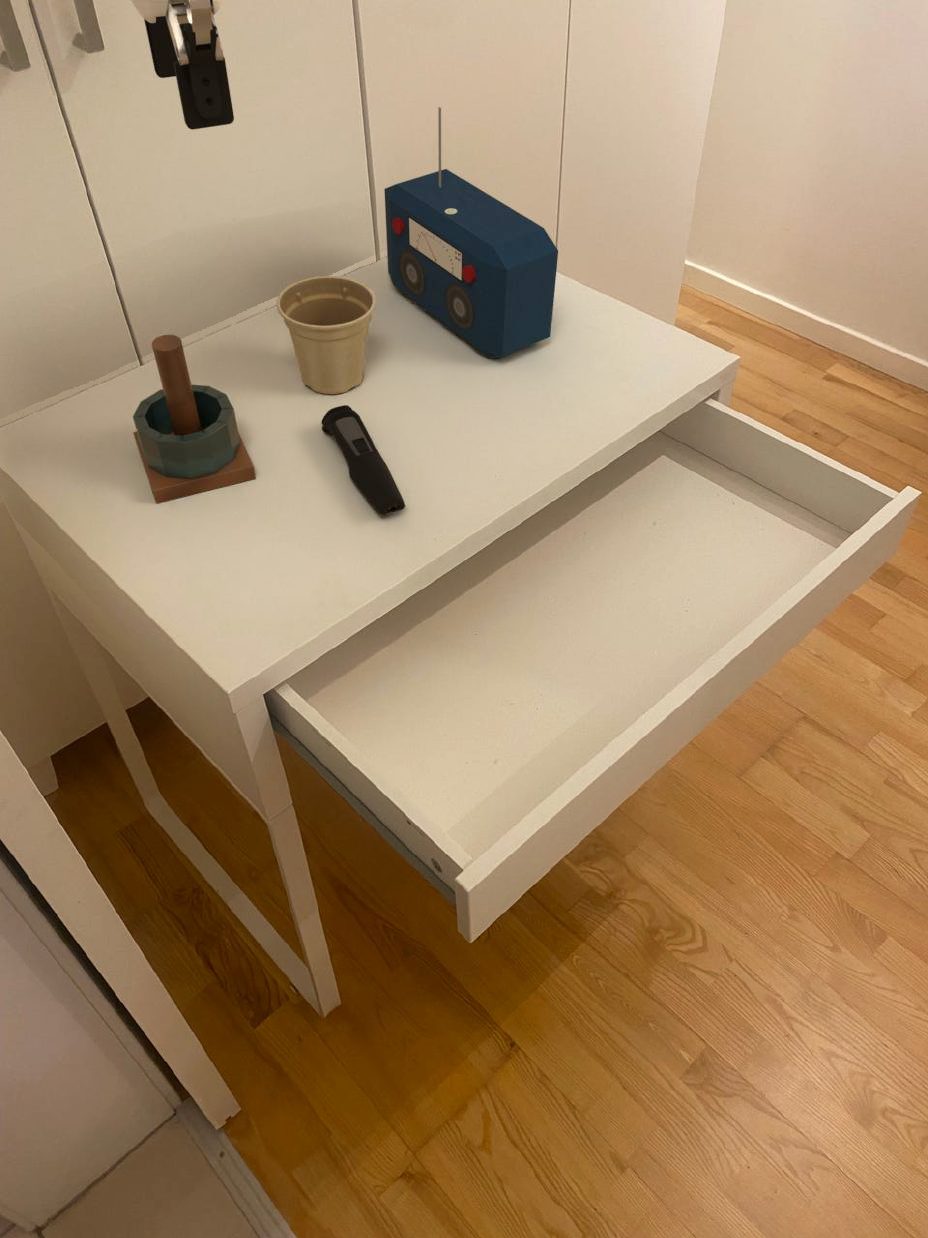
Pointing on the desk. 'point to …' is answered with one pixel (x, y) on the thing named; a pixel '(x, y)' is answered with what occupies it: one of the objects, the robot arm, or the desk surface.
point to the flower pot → (328, 330)
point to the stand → (186, 427)
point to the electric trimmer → (363, 460)
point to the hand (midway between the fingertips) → (193, 98)
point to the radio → (471, 261)
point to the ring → (188, 435)
